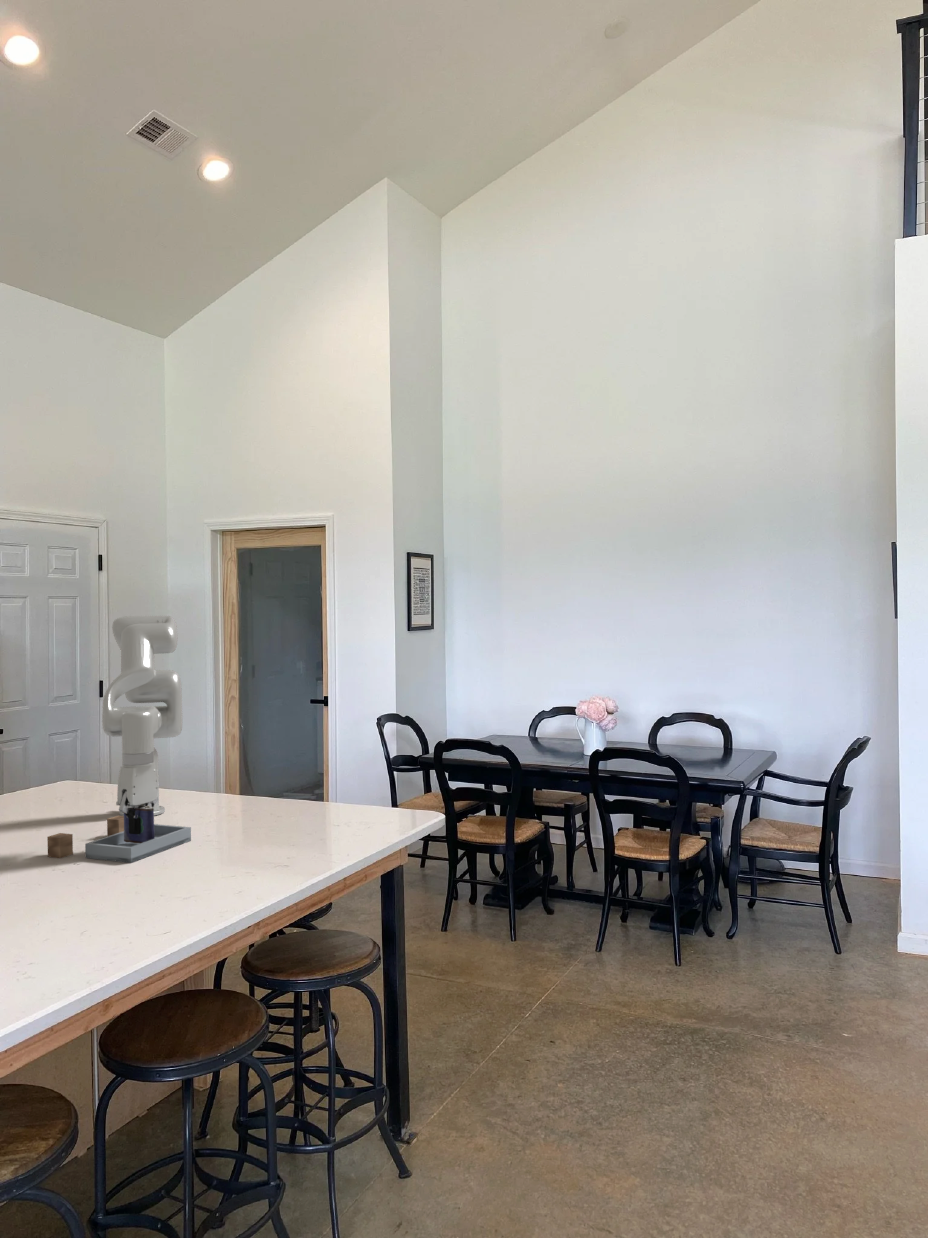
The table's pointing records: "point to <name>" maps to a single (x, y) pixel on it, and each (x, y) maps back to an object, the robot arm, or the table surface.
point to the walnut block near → (60, 845)
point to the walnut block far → (115, 825)
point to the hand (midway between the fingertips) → (139, 831)
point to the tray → (137, 844)
